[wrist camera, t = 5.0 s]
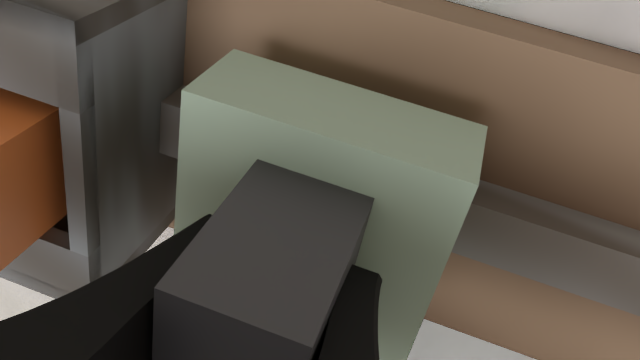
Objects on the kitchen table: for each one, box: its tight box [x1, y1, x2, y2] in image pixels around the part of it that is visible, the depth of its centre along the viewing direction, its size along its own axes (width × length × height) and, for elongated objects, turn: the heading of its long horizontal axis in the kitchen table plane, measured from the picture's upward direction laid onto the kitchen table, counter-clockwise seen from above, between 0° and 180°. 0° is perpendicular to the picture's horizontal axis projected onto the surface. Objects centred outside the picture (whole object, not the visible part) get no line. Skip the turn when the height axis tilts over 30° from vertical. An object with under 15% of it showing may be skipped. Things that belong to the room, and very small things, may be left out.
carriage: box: [152, 49, 488, 360], centre depth 13 cm, size 6×6×8 cm
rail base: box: [0, 0, 640, 360], centre depth 14 cm, size 9×30×6 cm, turn 79°
